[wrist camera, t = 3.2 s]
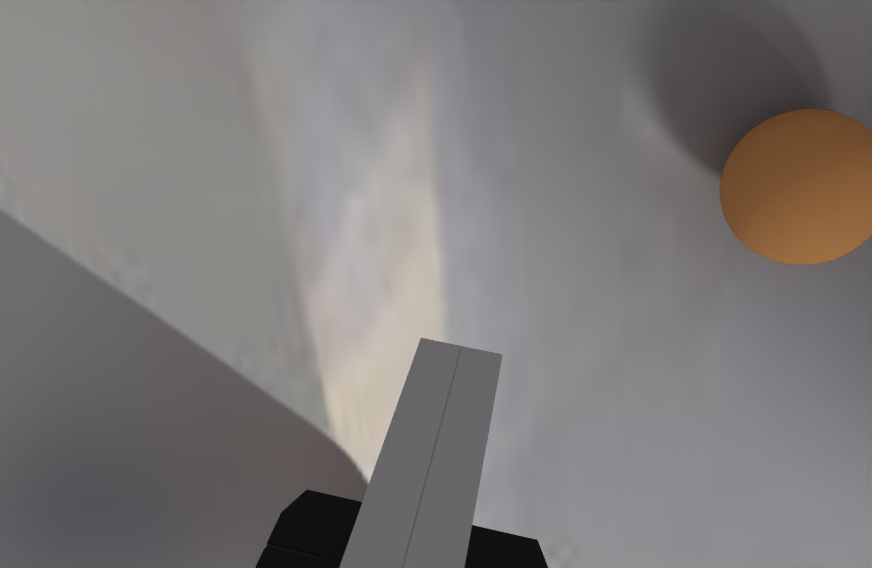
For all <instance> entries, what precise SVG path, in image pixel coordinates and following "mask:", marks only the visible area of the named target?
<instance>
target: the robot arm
mask: <svg viewBox="0 0 872 568" xmlns="http://www.w3.org/2000/svg"><path fill="white" fill-rule="evenodd" d="M501 361H502V354H497V353H493V352H488V351H483V350H478V349H473V348H468V347H463V346H458V345H453V344H449V343H444V342H439V341H434V340H429V339H424V338H421V339H420V342H419V345H418V348H417V350H416V353H415V356H414V359H413V362H412V365H411V367H410V370H409V373H408V376H407V379H406V381H405V384H404V387H403V390H402V393H401V395H400V398H399V401H398V404H397V407H396V410H395V412H394V415H393V418H392V421H391V424H390V426H389V429H388V432H387V435H386V438H385V440H384V443H383V446H382V449H381V452H380V454H379V457H378V460H377V463H376V466H375V469H374V471H373V474H372V477H371V480H370V483H369V485H368V488H367V491H366V494H365V497H364V499H363V502H359V501H355V500H350V499H346V498H342V497H337V496H333V495H328V494H324V493H320V492H315V491H311V490H306V491H305V492H304V493H302V494H301V495H300V496H299V497H298V498H297V499H296V500H295V501H294V502H292V503H291V504H290V505H289V506H288V507H287V508H286V509H285V510H284V511H282V513H281V514H280V517H279V519H278V521H277V523H276V525H275V527H274V529H273V531H272V533H271V536H270V538H269V540H268V542H267V546H266V548H264V550H263V552H262V555H261V557H260V559H259V561H258V563H257V565H256V568H548V566H547V564H546V561H545V558H544V556H543V553H542V551H541V548H540V545H539V543H538V540H535V539H531V538H526V537H522V536H518V535H513V534H509V533H504V532H500V531H496V530H491V529H487V528H482V527H478V526H474V525H472V522H473V517H474V511H475V506H476V500H477V494H478V489H479V483H480V478H481V472H482V467H483V461H484V455H485V450H486V444H487V439H488V433H489V427H490V422H491V416H492V411H493V405H494V400H495V394H496V388H497V383H498V377H499V372H500V366H501Z"/></svg>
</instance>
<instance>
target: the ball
mask: <svg viewBox="0 0 872 568" xmlns="http://www.w3.org/2000/svg"><path fill="white" fill-rule="evenodd" d="M720 200H721V205H722V210H723V213H724V216H725V219H726V221H727V223H728V224H729V226H730V228H731V230H732V231H733V233H734V234H735V235H736V237H737V238H738V239H739V240H740V241H741V242H742V243H743V244H745V245H746V246H747V247H748V248H749V249H751V250H752V251H754V252H755V253H757V254H759V255H761V256H763V257H765V258H768V259H770V260H773V261H776V262H780V263H785V264H793V265H811V264H818V263H823V262H827V261H830V260H834V259H836V258H839V257H841V256H843V255H845V254H847V253H849V252H851V251H852V250H854V249H855V248H857V247H858V246H860V245H861V244H862V243H863V242H865V241H866V240H867V239H868V238H869V237H870V236H871V235H872V132H871V131H870V130H868V129H867V128H866V127H865V126H863V125H862V124H861V123H859V122H858V121H856V120H854V119H852V118H850V117H848V116H846V115H843V114H840V113H837V112H833V111H829V110H822V109H801V110H794V111H789V112H785V113H781V114H779V115H776V116H774V117H771V118H769V119H767V120H765V121H763V122H762V123H760V124H759V125H757V126H755V127H754V128H753V129H752V130H750V131H749V132H748V133H747V134H746V135H745V136H744V137H743V138H742V139H741V140H740V141H739V142H738V144H737V145H736V146H735V148H734V149H733V150H732V152H731V154H730V155H729V157H728V159H727V161H726V164H725V166H724V169H723V173H722V176H721V183H720Z"/></svg>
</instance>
